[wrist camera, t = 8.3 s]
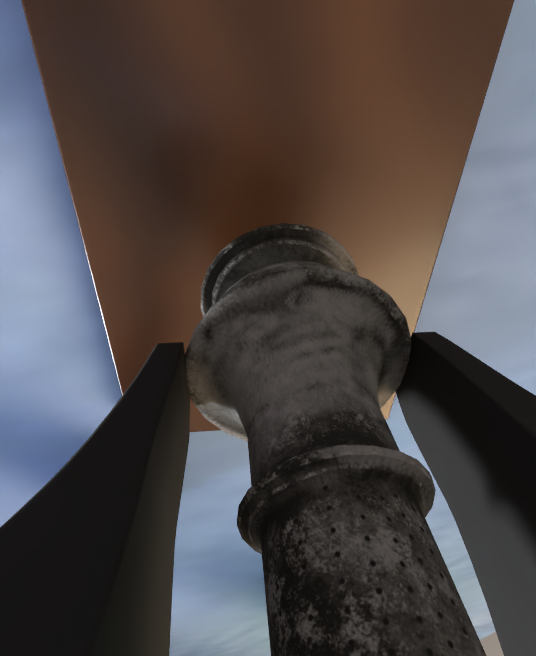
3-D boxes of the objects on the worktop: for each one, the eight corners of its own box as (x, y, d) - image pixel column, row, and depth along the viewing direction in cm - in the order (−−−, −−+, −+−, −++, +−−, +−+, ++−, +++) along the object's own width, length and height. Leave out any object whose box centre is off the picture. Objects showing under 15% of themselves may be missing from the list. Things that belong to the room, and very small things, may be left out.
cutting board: (136, 415, 22) (131, 436, 21) (12, -111, 10) (-15, -132, 9) (379, 400, 23) (388, 419, 22) (508, -74, 12) (541, -87, 11)
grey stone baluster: (321, 172, 11) (1306, 1318, 1) (392, 319, 14) (797, 937, 4) (152, 278, 12) (-115, 1239, 2) (252, 390, 15) (317, 991, 6)
